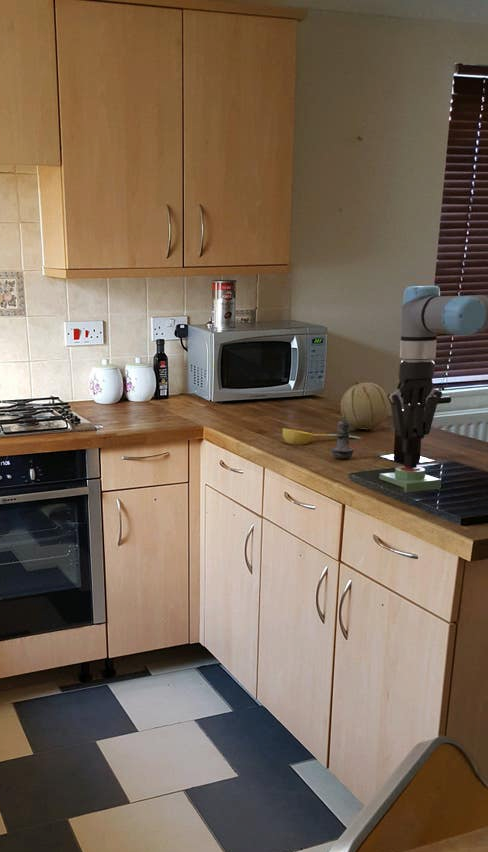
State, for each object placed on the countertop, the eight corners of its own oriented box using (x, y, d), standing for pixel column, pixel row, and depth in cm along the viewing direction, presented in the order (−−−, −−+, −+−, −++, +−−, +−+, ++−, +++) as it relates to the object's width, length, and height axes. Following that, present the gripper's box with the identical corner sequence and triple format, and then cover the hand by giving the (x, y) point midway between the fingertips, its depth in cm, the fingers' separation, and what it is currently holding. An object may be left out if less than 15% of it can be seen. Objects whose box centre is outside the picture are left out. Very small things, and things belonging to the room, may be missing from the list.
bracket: (435, 466, 220) (439, 410, 216) (404, 469, 217) (408, 413, 213) (407, 457, 231) (411, 405, 226) (378, 460, 228) (381, 407, 224)
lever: (452, 403, 208) (450, 393, 208) (432, 405, 206) (430, 395, 206) (416, 421, 222) (414, 412, 222) (397, 423, 221) (396, 414, 221)
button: (421, 476, 198) (421, 468, 198) (407, 477, 197) (408, 470, 197) (412, 473, 201) (412, 465, 201) (398, 474, 200) (399, 467, 200)
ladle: (274, 442, 252) (278, 422, 251) (354, 456, 261) (359, 436, 259) (287, 446, 244) (291, 425, 243) (369, 460, 252) (374, 440, 251)
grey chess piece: (330, 464, 225) (332, 418, 221) (330, 460, 230) (332, 414, 226) (354, 465, 224) (356, 418, 220) (353, 460, 229) (355, 414, 225)
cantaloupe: (389, 433, 266) (391, 383, 261) (340, 433, 269) (341, 384, 264) (386, 425, 280) (388, 378, 275) (339, 426, 283) (341, 378, 278)
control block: (440, 489, 196) (441, 471, 195) (406, 493, 194) (407, 475, 192) (412, 479, 206) (413, 462, 205) (378, 483, 204) (379, 466, 202)
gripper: (432, 357, 196) (424, 461, 204) (381, 360, 192) (376, 466, 200) (452, 359, 190) (444, 467, 197) (401, 363, 186) (394, 472, 193)
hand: (410, 466), depth 199 cm, fingers closed
